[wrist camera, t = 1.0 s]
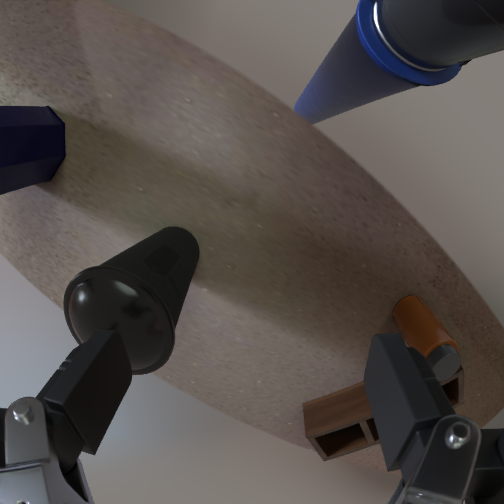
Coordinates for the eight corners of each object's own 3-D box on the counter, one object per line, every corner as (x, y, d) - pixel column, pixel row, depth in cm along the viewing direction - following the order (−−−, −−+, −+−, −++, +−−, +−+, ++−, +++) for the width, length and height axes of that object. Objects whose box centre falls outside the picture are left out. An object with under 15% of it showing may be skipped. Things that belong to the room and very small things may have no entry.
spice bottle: (388, 304, 30) (424, 363, 21) (420, 289, 30) (464, 341, 20) (396, 331, 32) (428, 391, 22) (426, 316, 31) (465, 371, 21)
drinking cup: (132, 217, 29) (-19, 324, 10) (207, 207, 28) (95, 333, 9) (148, 287, 31) (46, 433, 13) (219, 283, 31) (159, 459, 12)
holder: (302, 403, 36) (305, 436, 31) (444, 342, 32) (463, 369, 27) (320, 430, 38) (323, 461, 33) (448, 376, 34) (464, 403, 29)
